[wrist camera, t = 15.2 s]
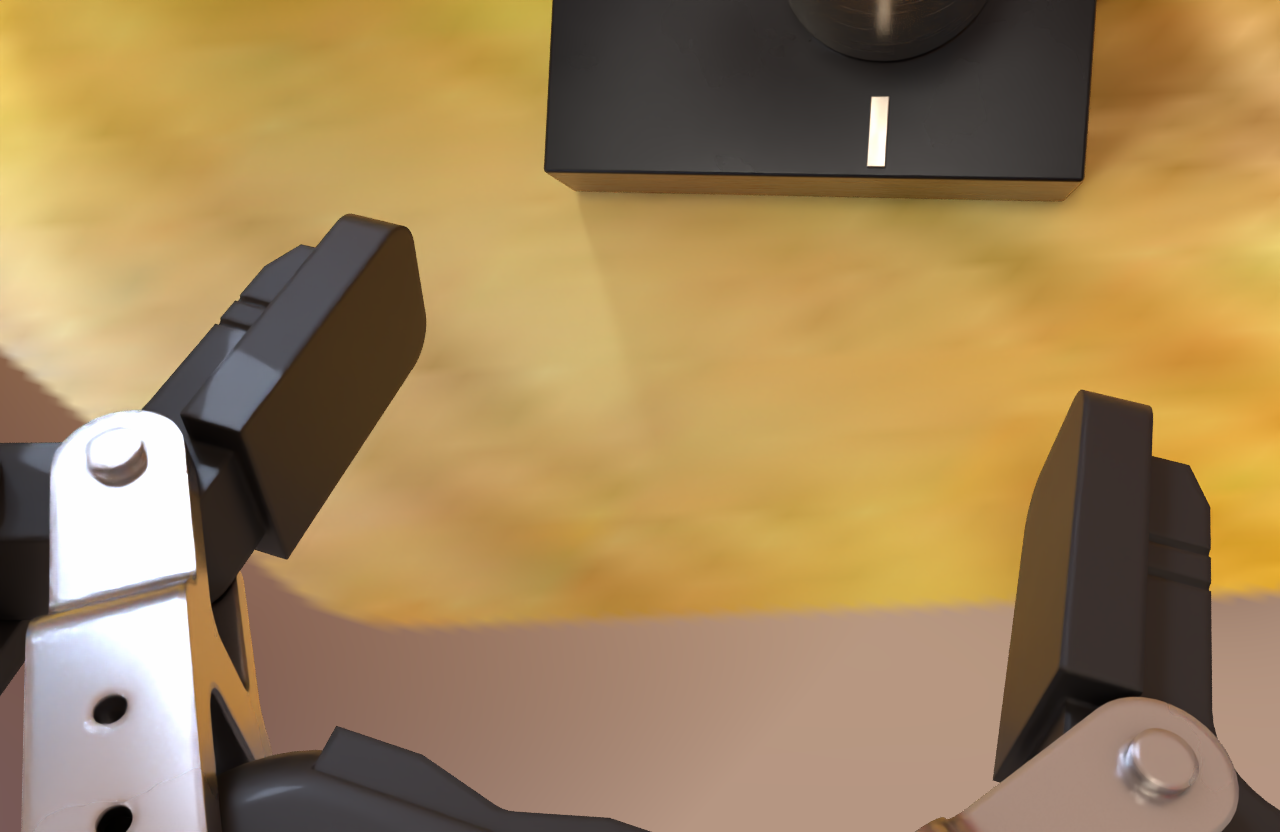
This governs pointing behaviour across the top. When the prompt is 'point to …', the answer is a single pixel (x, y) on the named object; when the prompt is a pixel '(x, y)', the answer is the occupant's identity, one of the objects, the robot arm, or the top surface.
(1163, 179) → the top surface
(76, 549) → the robot arm
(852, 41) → the dial
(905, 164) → the black flat block
